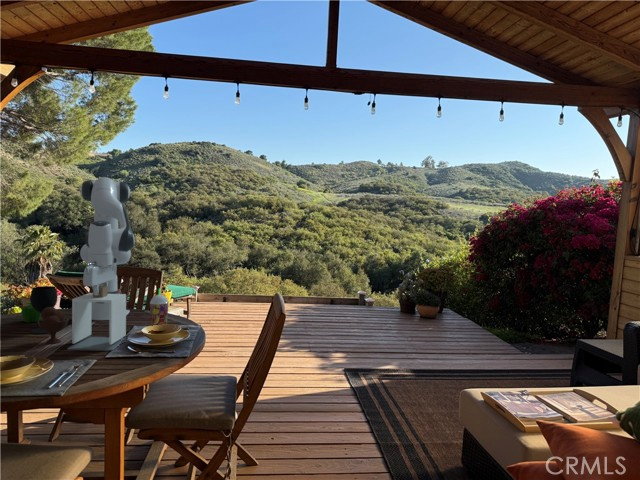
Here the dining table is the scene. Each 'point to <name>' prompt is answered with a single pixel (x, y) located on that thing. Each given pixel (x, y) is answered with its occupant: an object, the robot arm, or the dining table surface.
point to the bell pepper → (30, 313)
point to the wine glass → (42, 301)
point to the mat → (95, 344)
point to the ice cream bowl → (52, 323)
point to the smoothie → (159, 309)
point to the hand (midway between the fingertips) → (100, 293)
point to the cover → (83, 315)
